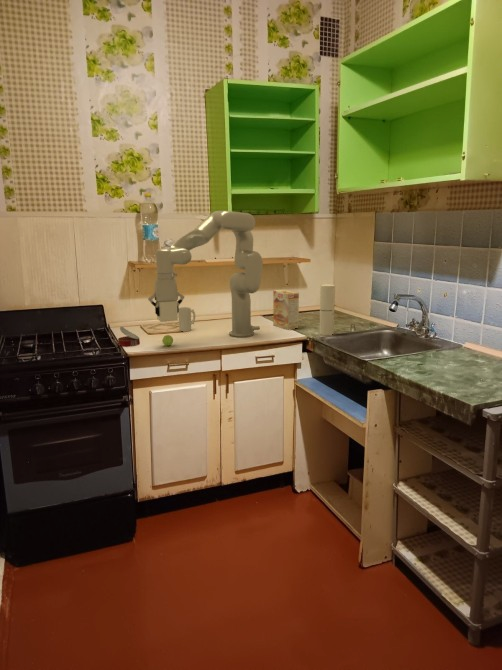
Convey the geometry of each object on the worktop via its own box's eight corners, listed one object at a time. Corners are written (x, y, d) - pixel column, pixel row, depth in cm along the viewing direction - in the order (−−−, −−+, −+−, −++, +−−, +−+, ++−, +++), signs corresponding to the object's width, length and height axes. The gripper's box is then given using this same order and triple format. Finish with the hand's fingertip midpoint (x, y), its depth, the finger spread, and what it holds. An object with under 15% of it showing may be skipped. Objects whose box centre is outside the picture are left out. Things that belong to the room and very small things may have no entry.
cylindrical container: (316, 333, 263) (317, 284, 257) (328, 332, 265) (330, 283, 260) (323, 336, 256) (325, 286, 251) (336, 334, 259) (337, 285, 253)
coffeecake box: (272, 325, 283) (272, 290, 279) (283, 323, 287) (283, 289, 282) (287, 330, 271) (288, 293, 266) (298, 328, 274) (299, 292, 270)
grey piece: (173, 317, 240) (172, 299, 238) (177, 320, 233) (176, 301, 231) (157, 319, 237) (156, 300, 235) (161, 321, 230) (160, 302, 228)
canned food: (127, 351, 248) (132, 331, 250) (142, 352, 242) (147, 332, 244) (109, 344, 239) (115, 324, 242) (124, 345, 233) (129, 324, 236)
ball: (174, 338, 236) (174, 347, 238) (171, 332, 240) (171, 341, 242) (163, 339, 234) (163, 348, 236) (161, 333, 238) (161, 342, 240)
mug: (183, 332, 266) (182, 309, 264) (176, 330, 271) (175, 308, 269) (199, 329, 273) (198, 307, 270) (192, 327, 278) (191, 306, 275)
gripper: (182, 274, 237) (183, 312, 241) (144, 276, 231) (146, 315, 234) (186, 276, 230) (187, 314, 234) (147, 278, 224) (150, 317, 228)
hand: (167, 314), depth 234 cm, fingers closed on grey piece, 7 cm apart
